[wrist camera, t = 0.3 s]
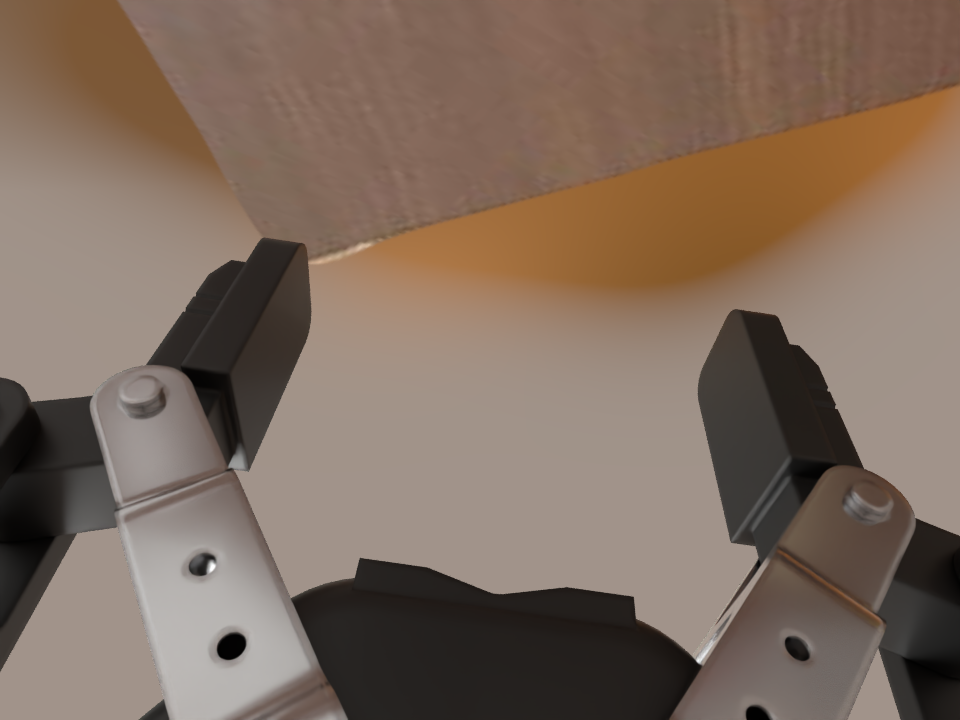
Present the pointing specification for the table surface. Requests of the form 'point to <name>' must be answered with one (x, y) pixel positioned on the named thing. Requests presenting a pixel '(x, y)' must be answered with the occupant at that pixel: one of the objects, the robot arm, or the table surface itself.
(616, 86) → the table surface
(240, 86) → the table surface
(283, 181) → the table surface
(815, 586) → the robot arm
